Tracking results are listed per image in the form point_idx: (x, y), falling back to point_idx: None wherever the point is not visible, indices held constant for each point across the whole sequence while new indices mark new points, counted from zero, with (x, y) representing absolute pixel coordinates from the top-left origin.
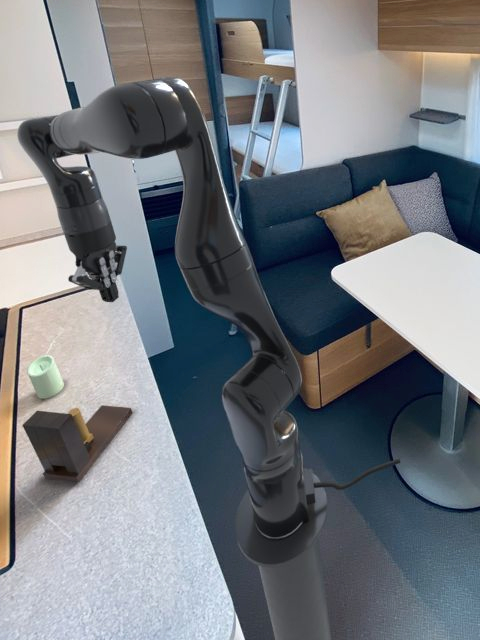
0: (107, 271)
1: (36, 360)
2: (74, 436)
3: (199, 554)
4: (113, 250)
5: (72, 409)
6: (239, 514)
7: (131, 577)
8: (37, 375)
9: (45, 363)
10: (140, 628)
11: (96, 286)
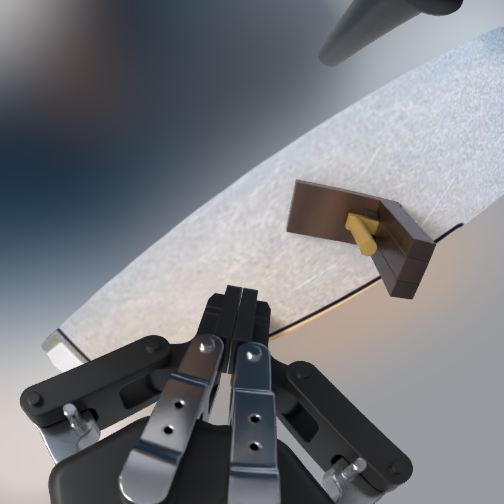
0: (237, 412)
1: (230, 354)
2: (407, 223)
3: (475, 43)
4: (96, 466)
5: (362, 252)
6: (430, 9)
7: (489, 104)
8: None
9: None
10: None
11: (327, 391)
